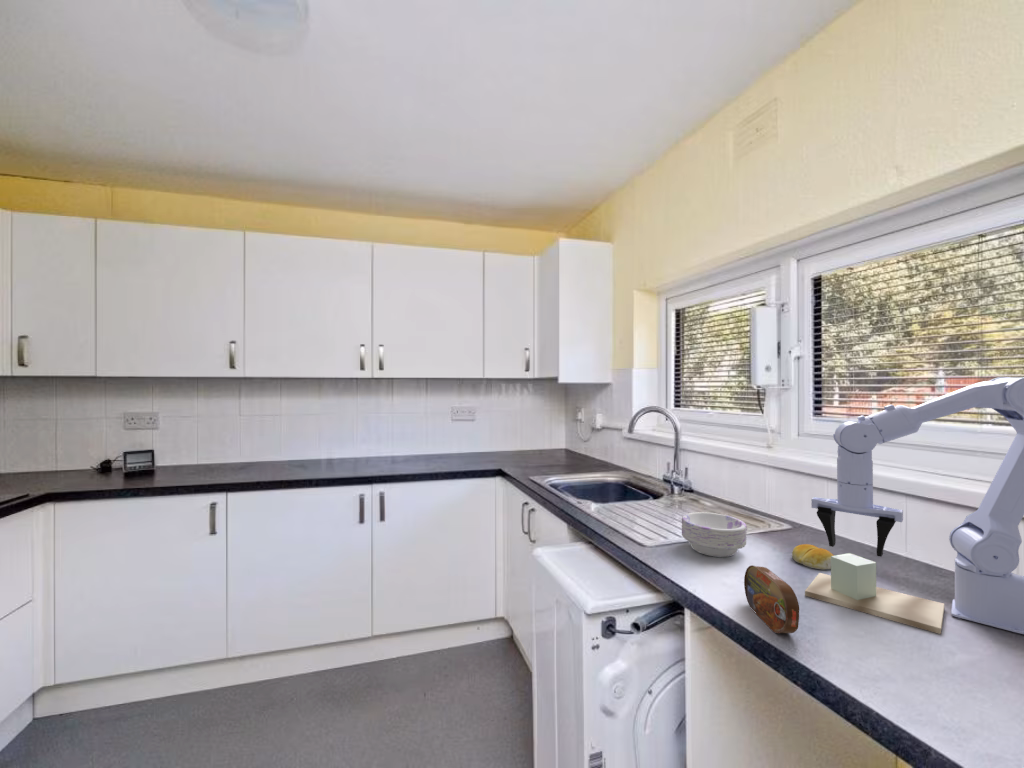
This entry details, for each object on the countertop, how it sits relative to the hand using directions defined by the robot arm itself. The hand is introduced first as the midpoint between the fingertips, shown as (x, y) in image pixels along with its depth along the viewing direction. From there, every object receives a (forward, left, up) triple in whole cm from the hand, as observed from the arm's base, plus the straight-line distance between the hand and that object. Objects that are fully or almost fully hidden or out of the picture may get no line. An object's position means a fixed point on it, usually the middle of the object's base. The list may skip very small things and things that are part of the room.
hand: (855, 549), depth 91 cm
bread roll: (+10, -14, -10) cm, 20 cm away
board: (-3, 0, -9) cm, 10 cm away
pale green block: (0, +1, -8) cm, 8 cm away
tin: (+9, +21, -10) cm, 25 cm away
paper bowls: (+30, -6, -10) cm, 32 cm away
